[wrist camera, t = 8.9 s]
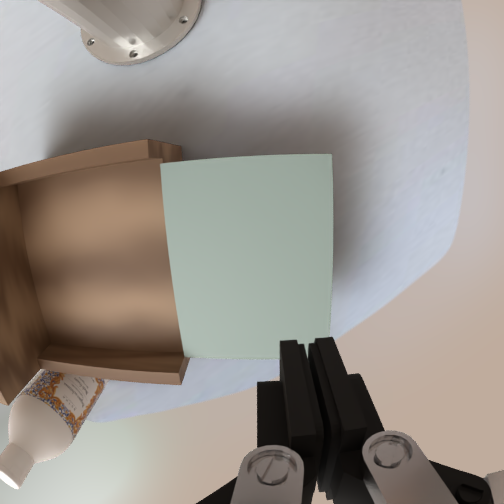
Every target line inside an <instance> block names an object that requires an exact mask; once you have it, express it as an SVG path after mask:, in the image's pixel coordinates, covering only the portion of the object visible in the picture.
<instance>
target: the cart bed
mask: <svg viewBox="0 0 504 504" xmlns="http://www.w3.org/2000/svg"><path fill="white" fill-rule="evenodd" d="M180 161H182V152H181V146H178V145H173V144H169V143H164V142H159V141H155V140H150V139H145V140H138V141H132V142H126V143H120V144H114V145H109V146H103V147H98V148H93V149H88V150H83V151H79V152H74V153H70V154H65V155H61V156H57V157H53V158H49V159H45V160H41V161H37V162H33V163H29V164H26V165H22V166H19V167H15V168H12V169H9V170H5V171H2V172H0V403H2V404H5V405H9V404H10V403H11V402H12V401H13V400H14V398H15V397H16V396H17V395H18V394H19V393H20V391H21V390H22V389H23V388H24V387H25V386H26V385H27V384H28V382H29V381H30V380H31V379H32V378H33V377H34V376H35V375H36V373H37V372H38V371H39V370H40V369H44V370H49V371H55V372H60V373H66V374H73V375H79V376H86V377H93V378H101V379H110V380H119V381H129V382H140V383H153V384H170V385H181V384H182V381H183V378H184V375H185V372H186V369H187V366H188V363H189V360H190V357H185V356H184V351H183V345H182V340H181V334H180V328H179V322H178V316H177V310H176V303H175V297H174V290H173V283H172V275H171V268H170V260H169V252H168V244H167V235H166V226H165V216H164V205H163V194H162V182H161V168H160V164H162V163H170V162H180Z"/></svg>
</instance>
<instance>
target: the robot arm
mask: <svg viewBox="0 0 504 504" xmlns="http://www.w3.org/2000/svg"><path fill="white" fill-rule="evenodd" d="M38 1H39V2H41V3H43V4H44V5H46V6H47V7H49V8H51V9H52V10H54V11H55V12H57V13H59V14H60V15H62V16H63V17H65V18H66V19H68V20H70V21H71V22H73V23H74V24H76V25H77V26H79V27H80V28H81V37H82V41H83V43H84V45H85V47H86V49H87V50H88V51H89V52H90V53H91V54H92V55H93V56H94V57H96V58H97V59H99V60H101V61H103V62H106V63H108V64H113V65H132V64H138V63H142V62H145V61H148V60H151V59H153V58H155V57H157V56H159V55H161V54H163V53H165V52H166V51H167V50H169V49H170V48H172V47H173V46H175V45H176V44H177V43H178V42H179V41H180V40H181V39H183V38H184V36H185V35H186V34H187V33H188V32H189V30H190V29H191V28H192V26H193V24H194V23H195V21H196V19H197V17H198V14H199V12H200V9H201V1H202V0H38ZM184 22H186V23H184ZM183 23H184V24H183ZM137 54H138V55H137ZM136 55H137V56H136ZM135 56H136V57H135ZM279 347H280V381H265V382H257V448H256V449H254V450H253V451H251V452H249V453H248V454H247V455H246V456H245V457H244V459H243V461H242V463H241V466H240V469H239V473H238V476H237V477H236V478H234V479H233V480H231V481H230V482H229V483H227V484H226V485H224V486H223V487H221V488H220V489H218V490H217V491H215V492H214V493H212V494H210V495H209V496H207V497H206V498H204V499H203V500H201V501H199V502H198V503H196V504H311V502H312V497H313V493H314V491H315V486H316V481H317V484H318V489H319V492H325V493H326V498H327V500H331V499H333V503H334V504H504V470H502V471H498V472H495V473H490V474H487V475H486V477H485V478H481V477H479V476H476V475H473V474H470V473H467V472H463V471H459V470H457V469H454V468H451V467H448V466H445V465H441V464H439V463H436V462H433V461H430V460H428V459H427V458H426V456H425V455H424V453H423V452H422V450H421V449H420V448H419V446H418V445H417V443H416V442H415V441H414V440H413V439H412V438H411V437H410V436H408V435H407V434H405V433H402V432H398V431H385V430H384V428H383V426H382V423H381V421H380V418H379V416H378V413H377V411H376V409H375V407H374V404H373V402H372V399H371V397H370V395H369V393H368V390H367V388H366V386H365V383H364V381H363V379H362V377H361V375H360V374H349V375H348V374H347V372H346V369H345V366H344V364H343V362H342V359H341V356H340V354H339V351H338V349H337V347H336V344H335V341H334V339H333V337H324V338H315V340H314V343H309V344H308V358H307V354H306V350H305V346H304V344H298V341H297V340H280V344H279Z"/></svg>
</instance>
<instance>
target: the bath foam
mask: <svg viewBox="0 0 504 504" xmlns="http://www.w3.org/2000/svg"><path fill="white" fill-rule="evenodd" d="M108 381H109V379H101V378H93V377H86V376H79V375H73V374H66V373H60V372H55V371H49V370H44V369H42V370H41V371H40V372H39V374H38V375H37V376H36V377H35V378H34V379H33V380H32V381H31V382H30V384H29V385H28V386H27V387H26V388H25V389H24V390H23V392H22V393H21V394H20V395H19V396H18V398H17V399H16V401H15V402H14V404H13V406H12V409H11V412H10V416H9V444H8V445H7V447H6V448H5V449H4V451H3V452H2V454H1V455H0V478H1V479H2V480H3V481H4V482H6V483H7V484H8V485H10V486H11V487H13V488H15V489H19V488H20V487H21V485H22V483H23V482H24V480H25V478H26V477H27V475H28V473H29V472H30V470H31V468H32V467H33V464H35V463H39V462H42V461H46V460H49V459H52V458H55V457H57V456H59V455H60V454H62V453H63V452H64V451H65V450H66V449H67V448H68V447H69V446H70V444H71V443H72V442H73V440H74V438H75V437H76V435H77V433H78V431H79V430H80V428H81V426H82V425H83V423H84V421H85V420H86V418H87V416H88V414H89V413H90V411H91V409H92V408H93V406H94V405H95V403H96V401H97V400H98V398H99V396H100V395H101V393H102V391H103V390H104V388H105V386H106V385H107V383H108Z"/></svg>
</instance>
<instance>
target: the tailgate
mask: <svg viewBox="0 0 504 504" xmlns="http://www.w3.org/2000/svg"><path fill="white" fill-rule="evenodd" d="M160 168H161V182H162V194H163V205H164V216H165V226H166V235H167V244H168V252H169V260H170V268H171V275H172V283H173V290H174V297H175V303H176V310H177V316H178V322H179V328H180V334H181V340H182V345H183V351H184V356H185V357H192V358H214V359H280V347H279V344H280V340H297V341H298V344H304V346H305V350H306V354H307V358H308V344H309V343H314V340H315V338H324V337H329V335H330V319H331V300H332V274H333V169H332V154H285V155H259V156H241V157H225V158H212V159H200V160H190V161H180V162H170V163H162V164H160Z"/></svg>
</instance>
